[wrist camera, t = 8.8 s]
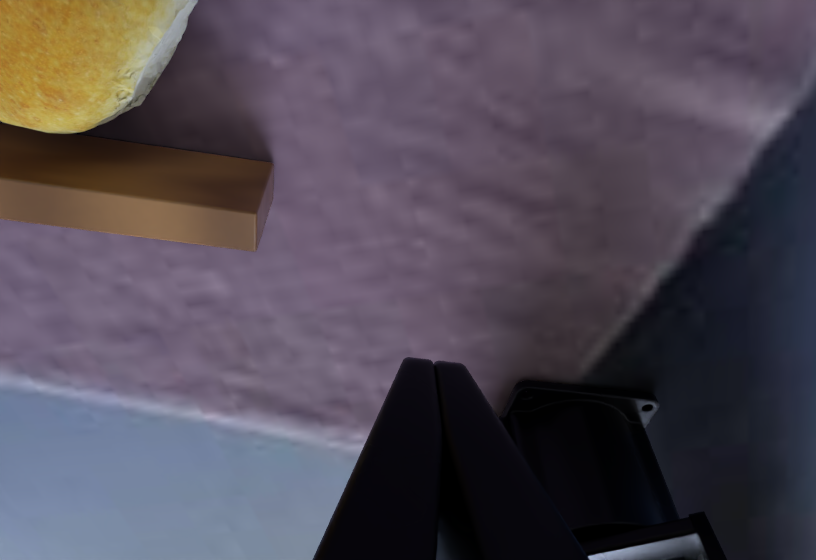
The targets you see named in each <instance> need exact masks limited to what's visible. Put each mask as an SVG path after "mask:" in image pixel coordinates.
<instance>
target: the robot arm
mask: <svg viewBox="0 0 816 560" xmlns="http://www.w3.org/2000/svg"><path fill="white" fill-rule="evenodd" d="M526 391H527V392H526ZM658 408H659V403H658V401H657V399H656V396H654V395H653V394H649V393H640V392H631V391H622V390H612V389H603V388H594V387H585V386H576V385H567V384H557V383H548V382H539V381H530V380H526V381H521V382H519V383H517V384H516V385H515V387H514V389H513V391H512V394H511V396H510V398H509V401H508V403H507V405H506V408H505V410H504V412H503V414H502V416H500V417H499V418H498V416H497V415H496V413H495V412H494V410H493V409H492V407H491V406H490V404H489V402H488V401H487V399H486V398H485V396H484V395H483V393H482V392H481V390H480V389H479V387H478V385H477V384H476V382H475V381H474V379H473V378H472V376H471V375H470V373H469V371H468V370H467V368H466V367H465V366H464V365H463V364H461V363H455V362H446V361H436V362H435V363H434V364H433V362H432V361H431V360H429V359H420V358H411V357H407V358H405V359H404V360H403V362H402V364H401V366H400V368H399V370H398V373H397V375H396V377H395V379H394V381H393V384H392V386H391V388H390V390H389V392H388V395H387V397H386V399H385V401H384V403H383V406H382V408H381V410H380V412H379V414H378V417H377V419H376V421H375V423H374V425H373V428H372V430H371V432H370V434H369V436H368V439H367V441H366V443H365V445H364V448H363V450H362V452H361V454H360V456H359V459H358V461H357V463H356V465H355V467H354V470H353V472H352V474H351V476H350V478H349V481H348V483H347V485H346V487H345V489H344V492H343V494H342V496H341V498H340V500H339V503H338V505H337V507H336V509H335V511H334V514H333V516H332V518H331V520H330V522H329V525H328V527H327V529H326V531H325V533H324V536H323V538H322V540H321V542H320V545H319V547H318V549H317V551H316V553H315V556H314V558H313V560H727V559H726V557H725V555H724V552H723V550H722V548H721V546H720V544H719V542H718V540H717V538H716V536H715V534H714V532H713V529H712V527H711V525H710V523H709V521H708V519H707V517H706V515H705V513H704V511H703V512H698V513H694V514H689V517H688V518H683V519H680V518H679V515H678V513H677V510H676V508H675V505H674V503H673V500H672V497H671V495H670V492H669V490H668V487H667V485H666V482H665V480H664V477H663V475H662V472H661V469H660V467H659V464H658V462H657V459H656V457H655V454H654V452H653V449H652V446H651V444H650V441H649V439H648V436H647V434H646V431H645V428H646V426H647V425H648V423H649V422H650V420H651V419H652V417H653V416H654V415H655V413H656V412H657V410H658Z"/></svg>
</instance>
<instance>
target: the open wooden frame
mask: <svg viewBox="0 0 816 560" xmlns="http://www.w3.org/2000/svg"><path fill="white" fill-rule="evenodd" d="M273 186H274V164H273V163H270V162H263V161H256V160H249V159H242V158H235V157H228V156H222V155H215V154H208V153H201V152H194V151H187V150H181V149H174V148H167V147H160V146H153V145H146V144H140V143H133V142H126V141H119V140H112V139H105V138H98V137H92V136H85V135H78V134H58V133H46V132H42V131H37V130H33V129H29V128H24V127H20V126H15V125H10V124H3V123H0V219H4V220H12V221H19V222H27V223H35V224H43V225H51V226H58V227H66V228H74V229H82V230H90V231H97V232H105V233H113V234H121V235H129V236H136V237H144V238H152V239H160V240H168V241H175V242H183V243H191V244H199V245H207V246H214V247H222V248H230V249H238V250H246V251H253V252H254V251H256V250H257V248H258V245H259V242H260V239H261V235H262V232H263V229H264V226H265V223H266V220H267V216H268V213H269V210H270V207H271V204H272V201H273Z"/></svg>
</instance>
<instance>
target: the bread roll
mask: <svg viewBox="0 0 816 560" xmlns="http://www.w3.org/2000/svg"><path fill="white" fill-rule="evenodd" d="M197 2H198V0H0V121H1V122H4V123H8V124H11V125H15V126H20V127H24V128H29V129H33V130H37V131H42V132H46V133H58V134H71V133H79V132H84V131H87V130H89V129H92V128H94V127H96V126H98V125H102V124H104V123H107V122H109V121H111V120H113V119H115V118H116V117H117V116H118V115H120V114H122V113H124V112H126V111H129V110H130V109H132V108H133V107H135V106H139V105H141V104H142V102H143V101H144V100H145V97H146V96H147V95H148V94H149V92H150V90H151V89H153V88H152V87H153V86H154V85H155V83H156V81H157V80H158V78H159V77H160V75H161V74H162V72H163V71H164V69H165V67H166V66H167V64H168V63H169V61H170V60H171V58H172V56H173V54H174V52H175V50H176V47H177V44H178V43H179V41H180V40H181V39H182V35H183V33H184V32H185V29H186V27H187V21H188V16H189V14H190V13H191V12H192V10H193V7H194V6H195V5H196V3H197Z"/></svg>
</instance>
